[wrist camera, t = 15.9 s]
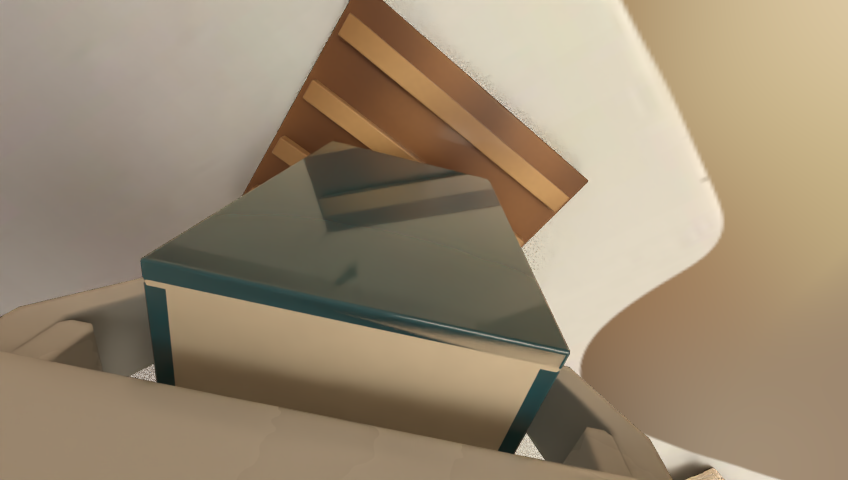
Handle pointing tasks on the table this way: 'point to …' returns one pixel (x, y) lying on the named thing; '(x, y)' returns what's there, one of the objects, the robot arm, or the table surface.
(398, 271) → the mirrored box
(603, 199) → the table surface
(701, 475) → the car
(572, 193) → the drying rack
